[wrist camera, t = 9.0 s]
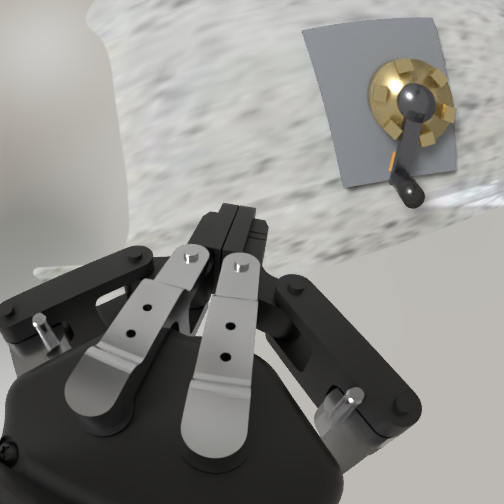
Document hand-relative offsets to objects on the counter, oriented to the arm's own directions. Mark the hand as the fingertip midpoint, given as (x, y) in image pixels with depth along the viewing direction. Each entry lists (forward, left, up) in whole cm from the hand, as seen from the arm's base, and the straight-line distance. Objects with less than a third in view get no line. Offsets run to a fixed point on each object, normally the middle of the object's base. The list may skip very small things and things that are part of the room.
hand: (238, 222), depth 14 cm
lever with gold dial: (-15, +2, -23) cm, 28 cm away
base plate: (-14, 0, -25) cm, 29 cm away
